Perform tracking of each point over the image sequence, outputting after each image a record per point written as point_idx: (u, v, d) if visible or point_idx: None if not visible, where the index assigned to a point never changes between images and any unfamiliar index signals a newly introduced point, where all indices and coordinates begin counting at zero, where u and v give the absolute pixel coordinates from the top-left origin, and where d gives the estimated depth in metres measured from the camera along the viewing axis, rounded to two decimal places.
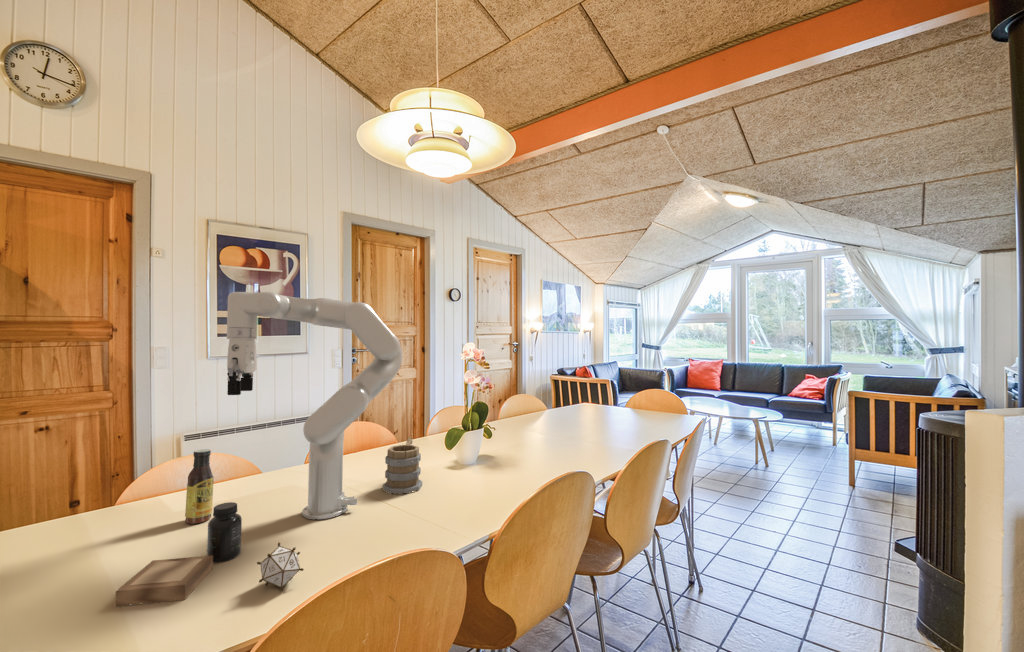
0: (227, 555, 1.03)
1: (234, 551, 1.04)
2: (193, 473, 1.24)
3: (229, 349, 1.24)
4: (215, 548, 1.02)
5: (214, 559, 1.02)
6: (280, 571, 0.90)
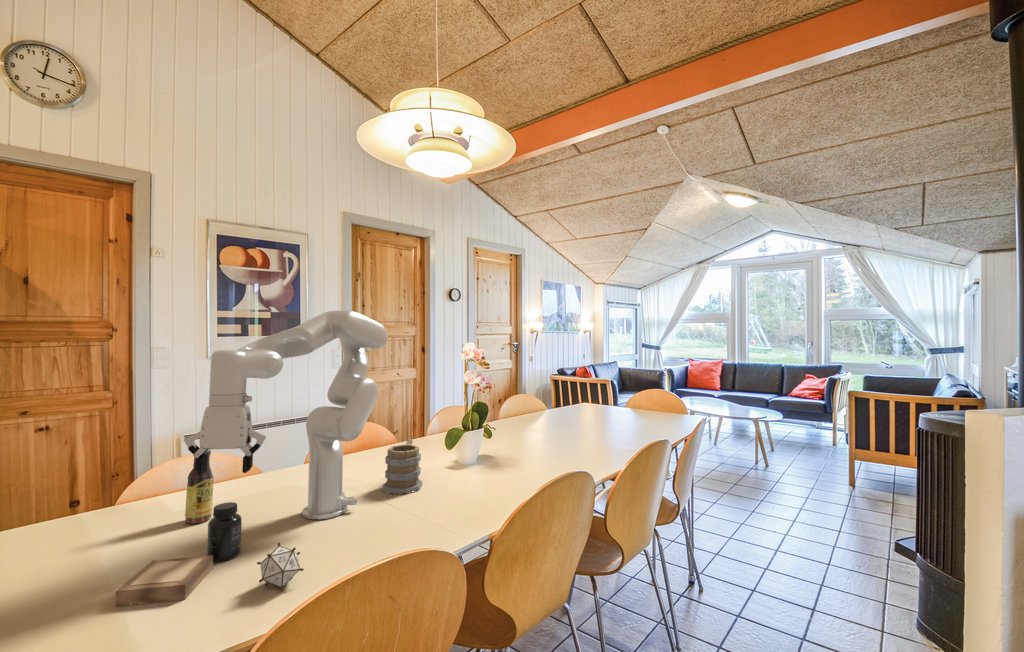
0: (227, 555, 1.03)
1: (234, 551, 1.04)
2: (193, 473, 1.24)
3: (245, 419, 1.06)
4: (215, 548, 1.02)
5: (214, 559, 1.02)
6: (280, 571, 0.90)
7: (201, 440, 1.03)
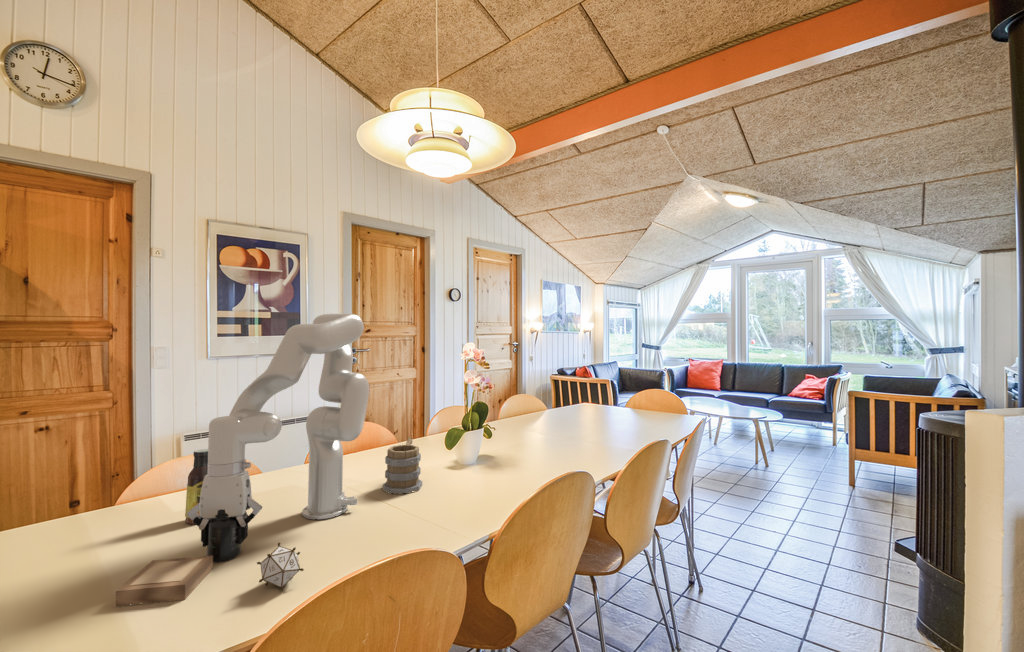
0: (227, 555, 1.03)
1: (234, 551, 1.04)
2: (193, 473, 1.24)
3: (244, 487, 1.05)
4: (215, 548, 1.02)
5: (214, 559, 1.02)
6: (280, 571, 0.90)
7: (200, 510, 1.03)
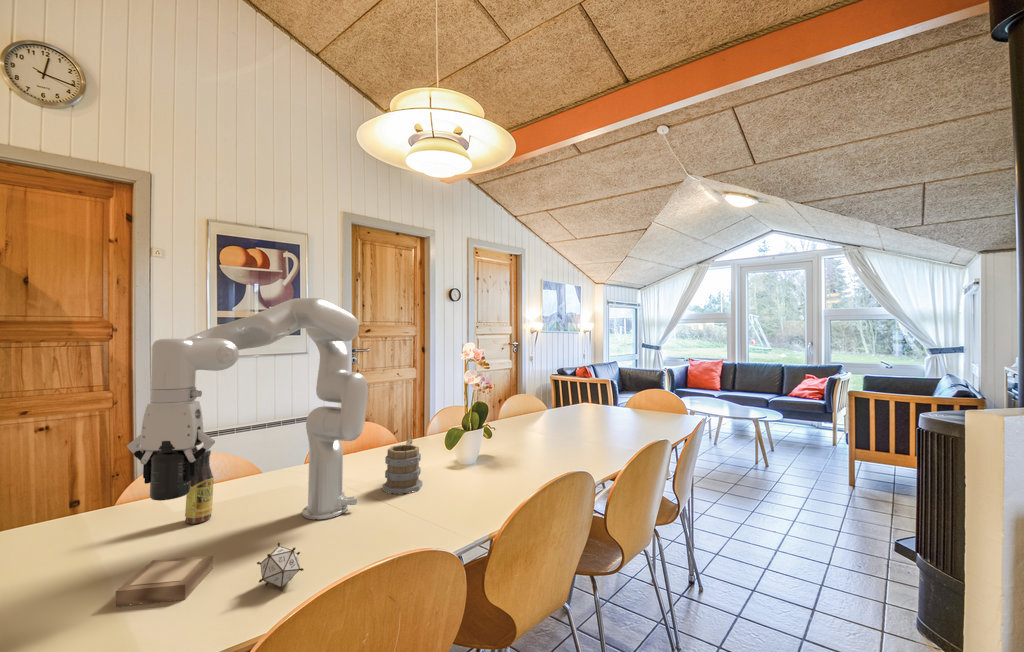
0: (172, 493, 0.91)
1: (181, 489, 0.92)
2: None
3: (193, 417, 0.93)
4: (158, 484, 0.90)
5: (157, 496, 0.90)
6: (280, 571, 0.90)
7: (142, 441, 0.91)
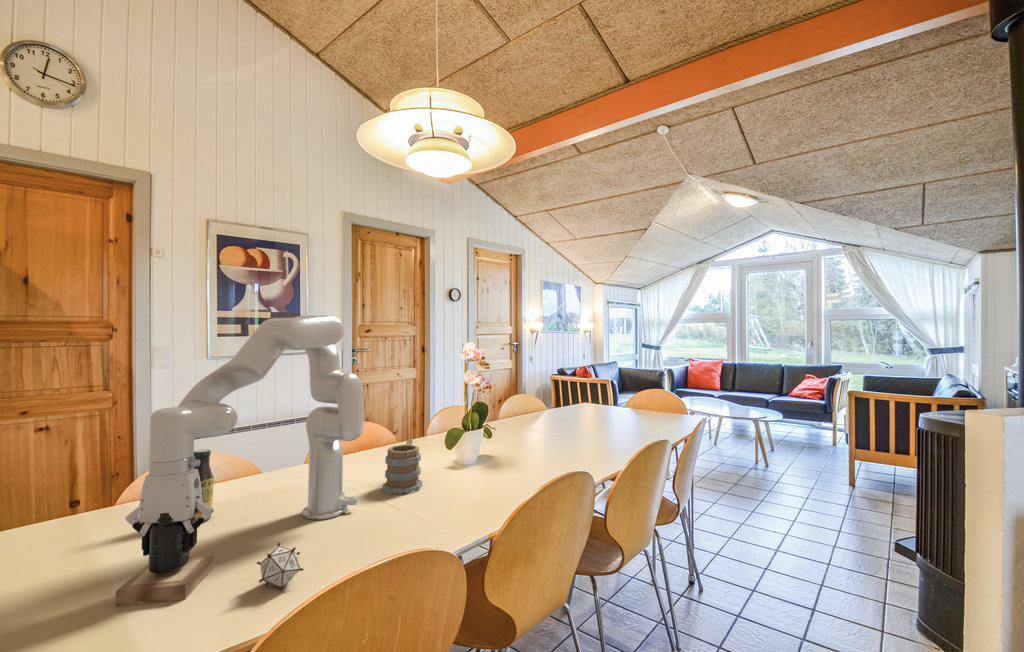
0: (171, 565, 0.90)
1: (179, 560, 0.92)
2: None
3: (191, 488, 0.93)
4: (156, 558, 0.90)
5: (155, 570, 0.89)
6: (280, 571, 0.90)
7: (140, 514, 0.90)
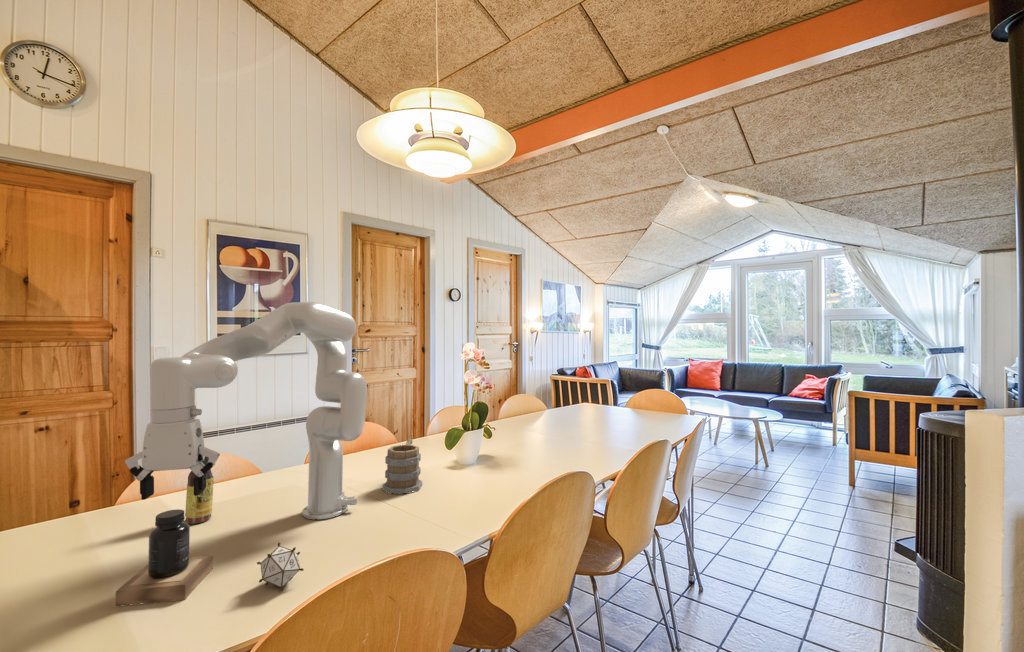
0: (171, 570, 0.90)
1: (179, 565, 0.92)
2: (193, 473, 1.24)
3: (193, 436, 0.93)
4: (156, 563, 0.90)
5: (155, 575, 0.89)
6: (280, 571, 0.90)
7: (144, 461, 0.91)
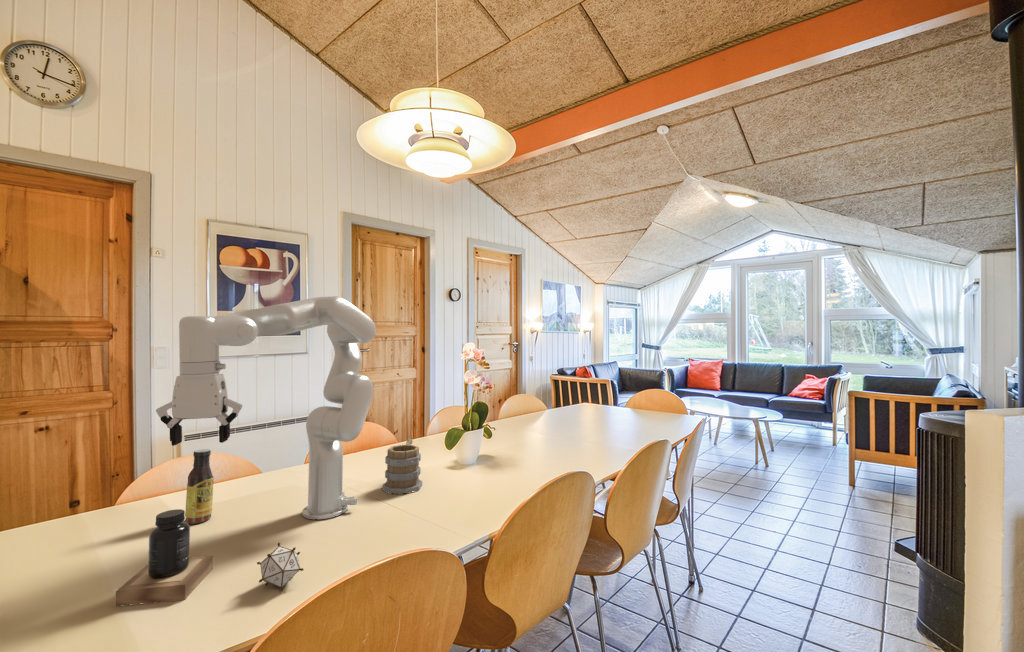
0: (171, 570, 0.90)
1: (179, 565, 0.92)
2: (193, 473, 1.24)
3: (219, 387, 1.01)
4: (156, 563, 0.90)
5: (156, 575, 0.89)
6: (280, 571, 0.90)
7: (173, 410, 0.99)
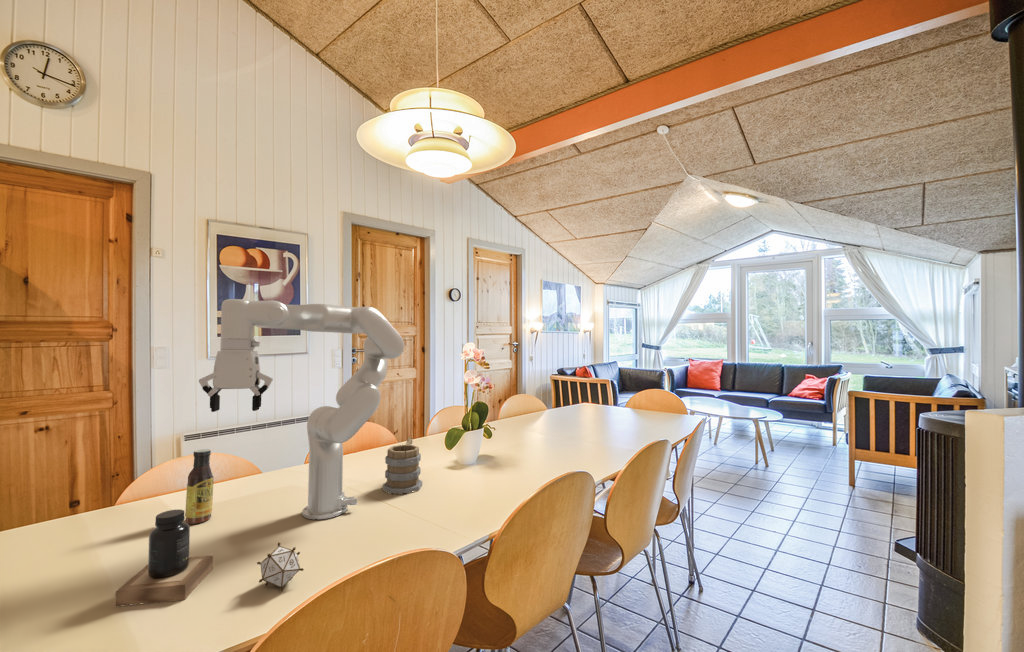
0: (171, 570, 0.90)
1: (179, 565, 0.92)
2: (193, 473, 1.24)
3: (253, 362, 1.16)
4: (156, 563, 0.89)
5: (156, 575, 0.89)
6: (280, 571, 0.90)
7: (214, 380, 1.13)
